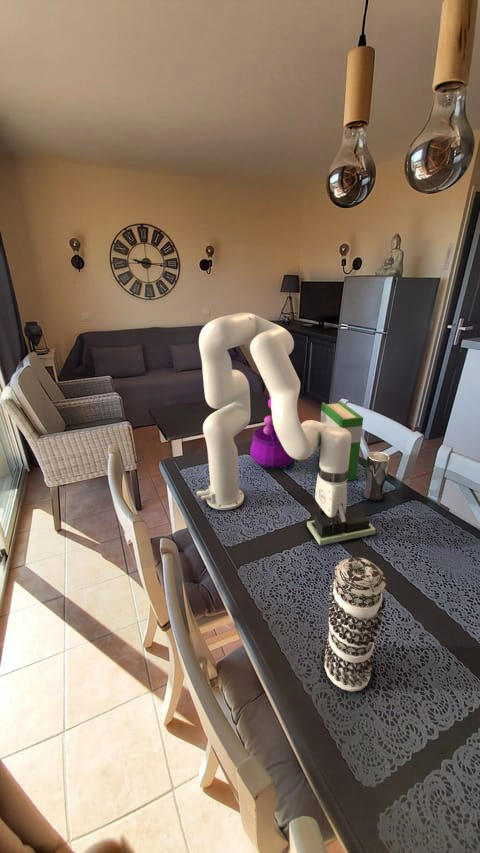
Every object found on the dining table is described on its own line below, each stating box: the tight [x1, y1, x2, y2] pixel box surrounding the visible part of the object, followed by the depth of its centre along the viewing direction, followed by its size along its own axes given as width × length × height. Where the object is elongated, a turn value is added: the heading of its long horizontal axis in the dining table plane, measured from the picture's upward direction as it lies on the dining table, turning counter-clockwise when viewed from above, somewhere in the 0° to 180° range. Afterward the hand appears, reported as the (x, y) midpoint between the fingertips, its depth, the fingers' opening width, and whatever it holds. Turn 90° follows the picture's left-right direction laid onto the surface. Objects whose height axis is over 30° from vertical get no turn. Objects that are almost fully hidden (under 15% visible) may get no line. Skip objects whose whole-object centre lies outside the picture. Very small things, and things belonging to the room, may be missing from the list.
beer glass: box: [363, 451, 390, 501], centre depth 118 cm, size 7×7×15 cm
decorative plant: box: [249, 393, 296, 469], centre depth 138 cm, size 19×18×30 cm
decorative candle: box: [324, 556, 387, 692], centre depth 64 cm, size 9×9×25 cm
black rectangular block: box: [313, 514, 345, 536], centre depth 103 cm, size 7×5×4 cm
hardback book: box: [317, 400, 364, 481], centre depth 133 cm, size 18×7×24 cm, turn 11°
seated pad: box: [344, 510, 370, 533], centre depth 105 cm, size 7×5×4 cm
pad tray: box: [306, 520, 377, 546], centre depth 105 cm, size 17×9×2 cm, turn 104°
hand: (329, 527), depth 103 cm, fingers closed on black rectangular block, 4 cm apart
